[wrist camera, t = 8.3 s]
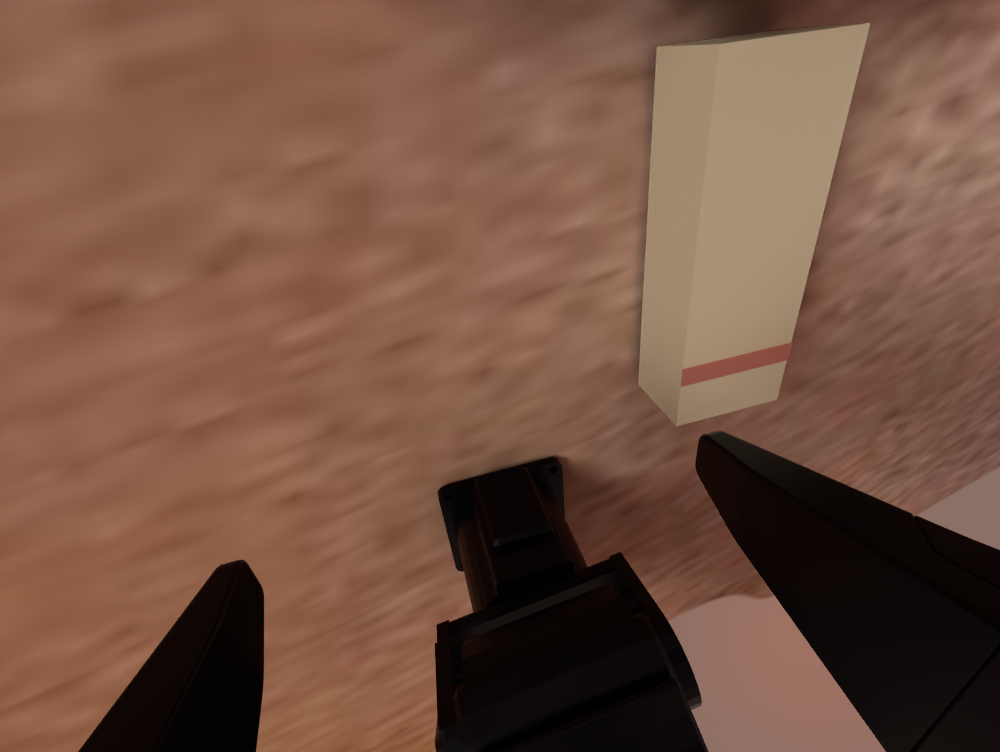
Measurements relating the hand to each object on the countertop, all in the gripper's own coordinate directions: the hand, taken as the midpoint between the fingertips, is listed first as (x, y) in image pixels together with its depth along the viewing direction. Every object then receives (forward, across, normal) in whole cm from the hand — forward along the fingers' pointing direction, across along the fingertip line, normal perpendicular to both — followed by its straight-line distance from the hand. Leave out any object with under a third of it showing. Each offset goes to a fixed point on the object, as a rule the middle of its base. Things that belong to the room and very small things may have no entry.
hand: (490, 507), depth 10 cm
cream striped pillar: (+12, -12, 0) cm, 17 cm away
